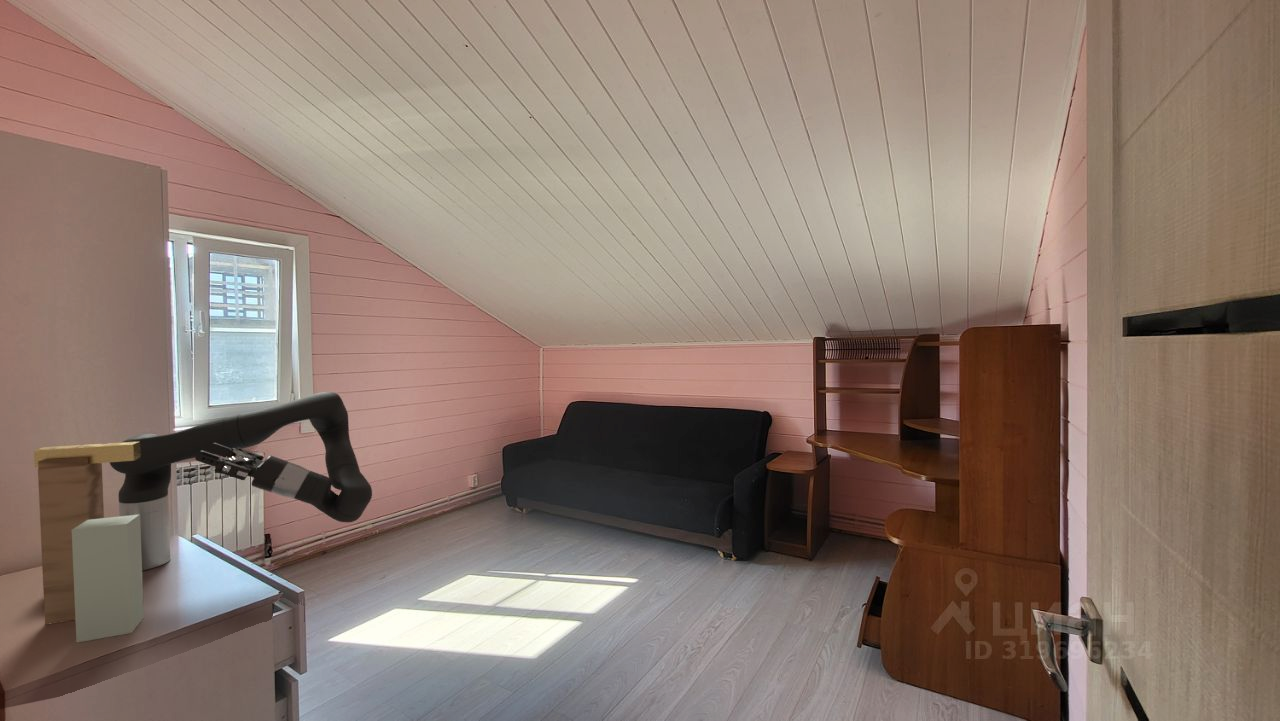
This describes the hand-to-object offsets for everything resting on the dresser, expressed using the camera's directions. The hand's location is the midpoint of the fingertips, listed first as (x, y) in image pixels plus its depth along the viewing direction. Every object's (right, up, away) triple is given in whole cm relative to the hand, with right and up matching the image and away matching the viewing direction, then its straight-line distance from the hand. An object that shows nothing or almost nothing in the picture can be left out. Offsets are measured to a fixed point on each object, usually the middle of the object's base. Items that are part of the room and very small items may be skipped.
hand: (204, 450), depth 119 cm
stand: (-22, -33, -6) cm, 40 cm away
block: (-8, -34, -12) cm, 37 cm away
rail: (-19, -1, -6) cm, 20 cm away
